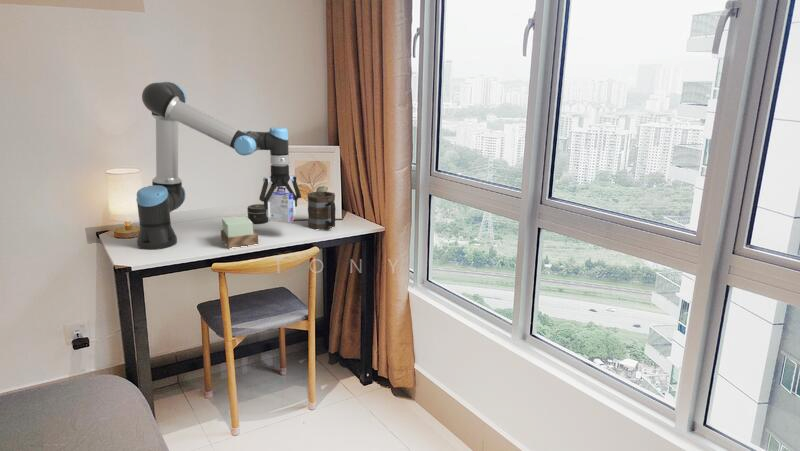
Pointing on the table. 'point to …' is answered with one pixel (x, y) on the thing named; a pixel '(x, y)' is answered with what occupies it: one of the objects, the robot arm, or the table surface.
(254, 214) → the jar
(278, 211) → the ink cartridge box
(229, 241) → the walnut base block
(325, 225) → the mug
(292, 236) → the table surface
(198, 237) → the table surface
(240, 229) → the sage top block
